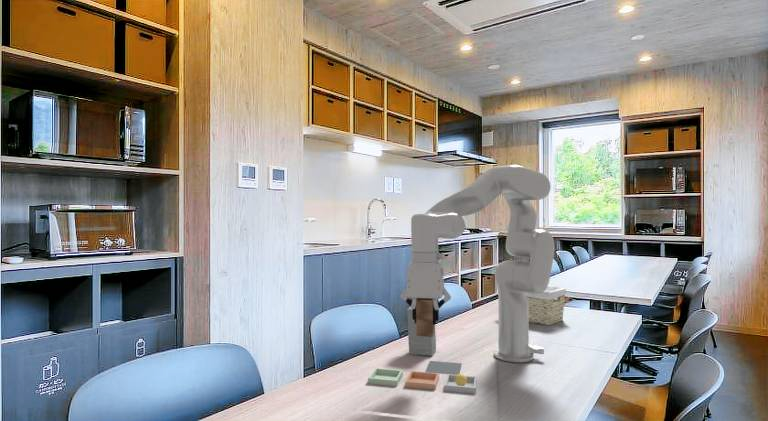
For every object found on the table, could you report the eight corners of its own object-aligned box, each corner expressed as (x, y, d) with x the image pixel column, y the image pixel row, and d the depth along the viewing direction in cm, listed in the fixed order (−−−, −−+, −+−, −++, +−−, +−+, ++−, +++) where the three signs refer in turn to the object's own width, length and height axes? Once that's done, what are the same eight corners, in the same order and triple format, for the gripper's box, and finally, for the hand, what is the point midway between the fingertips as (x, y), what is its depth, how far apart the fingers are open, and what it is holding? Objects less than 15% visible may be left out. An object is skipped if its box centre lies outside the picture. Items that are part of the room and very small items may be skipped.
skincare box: (436, 351, 153) (436, 304, 153) (431, 357, 146) (431, 309, 146) (412, 348, 155) (412, 303, 155) (406, 354, 149) (406, 307, 149)
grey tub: (476, 383, 124) (476, 376, 124) (475, 395, 116) (475, 388, 116) (447, 381, 126) (447, 374, 126) (444, 392, 118) (444, 385, 118)
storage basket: (567, 320, 194) (567, 286, 194) (549, 327, 183) (549, 291, 183) (518, 311, 211) (518, 280, 211) (499, 317, 200) (499, 284, 200)
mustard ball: (467, 384, 122) (467, 372, 122) (466, 388, 119) (466, 376, 119) (455, 383, 123) (455, 371, 123) (454, 387, 120) (454, 375, 120)
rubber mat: (461, 365, 139) (461, 363, 139) (459, 376, 129) (459, 374, 129) (429, 362, 141) (429, 360, 141) (425, 374, 131) (425, 372, 131)
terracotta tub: (439, 380, 126) (439, 373, 126) (435, 391, 118) (435, 384, 118) (410, 377, 128) (410, 370, 128) (405, 389, 120) (405, 381, 120)
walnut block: (434, 332, 126) (434, 297, 126) (432, 336, 122) (432, 300, 122) (419, 331, 127) (418, 296, 127) (416, 335, 123) (416, 299, 123)
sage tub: (402, 377, 129) (402, 370, 129) (396, 388, 121) (396, 380, 121) (375, 374, 131) (375, 367, 131) (367, 385, 123) (367, 378, 123)
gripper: (456, 256, 126) (457, 320, 126) (398, 255, 130) (398, 318, 130) (454, 259, 119) (455, 328, 119) (392, 258, 123) (393, 324, 123)
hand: (425, 322), depth 125 cm, fingers closed on walnut block, 4 cm apart
